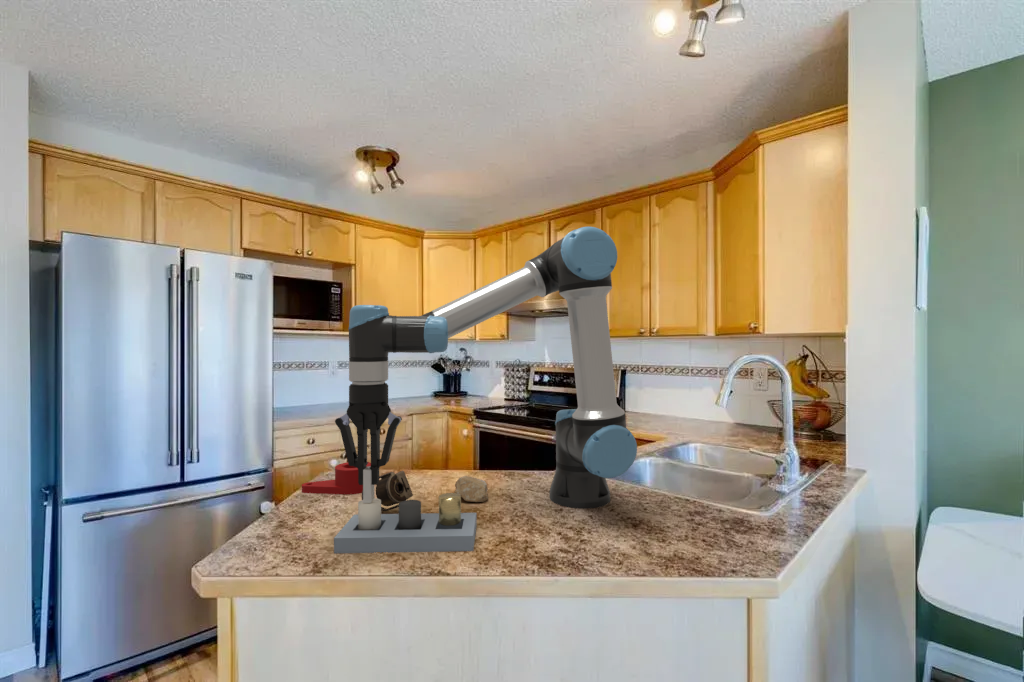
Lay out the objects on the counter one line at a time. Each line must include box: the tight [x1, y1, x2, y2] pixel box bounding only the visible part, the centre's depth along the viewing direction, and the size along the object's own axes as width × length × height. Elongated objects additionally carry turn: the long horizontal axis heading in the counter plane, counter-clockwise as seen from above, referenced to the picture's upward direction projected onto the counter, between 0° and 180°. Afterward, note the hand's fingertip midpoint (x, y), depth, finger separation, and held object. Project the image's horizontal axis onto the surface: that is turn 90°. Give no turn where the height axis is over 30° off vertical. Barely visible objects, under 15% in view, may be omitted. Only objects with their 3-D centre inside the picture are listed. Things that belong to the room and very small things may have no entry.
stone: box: [454, 475, 489, 503], centre depth 119 cm, size 8×10×4 cm
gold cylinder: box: [438, 492, 462, 526], centre depth 94 cm, size 4×4×5 cm
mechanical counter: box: [361, 470, 414, 512], centre depth 108 cm, size 7×13×10 cm, turn 78°
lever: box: [301, 461, 371, 496], centre depth 125 cm, size 18×9×7 cm, turn 97°
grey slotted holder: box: [333, 512, 478, 554], centre depth 94 cm, size 26×12×3 cm, turn 91°
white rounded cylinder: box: [357, 497, 382, 530], centre depth 94 cm, size 4×4×5 cm
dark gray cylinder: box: [398, 499, 422, 530], centre depth 94 cm, size 4×4×5 cm
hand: (368, 500), depth 94 cm, fingers closed, pressing on white rounded cylinder
